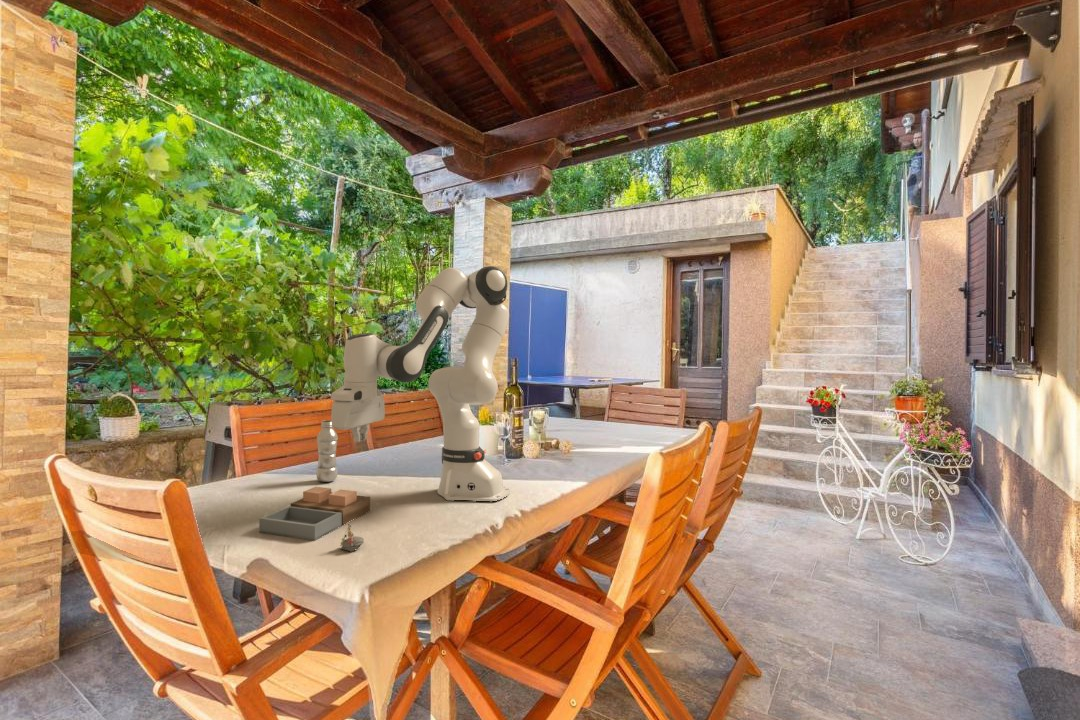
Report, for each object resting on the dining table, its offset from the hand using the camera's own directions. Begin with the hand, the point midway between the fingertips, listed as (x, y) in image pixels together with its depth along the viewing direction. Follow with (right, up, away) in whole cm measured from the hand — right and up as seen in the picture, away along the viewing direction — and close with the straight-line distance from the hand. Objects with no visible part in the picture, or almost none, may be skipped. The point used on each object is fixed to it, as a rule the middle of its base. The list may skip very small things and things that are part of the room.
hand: (360, 440), depth 148 cm
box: (-9, -20, -16) cm, 27 cm away
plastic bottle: (-20, -18, +27) cm, 38 cm away
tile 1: (-10, -15, -4) cm, 19 cm away
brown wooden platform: (-6, -19, -5) cm, 21 cm away
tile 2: (-2, -15, -7) cm, 17 cm away
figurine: (+7, -21, -27) cm, 35 cm away
